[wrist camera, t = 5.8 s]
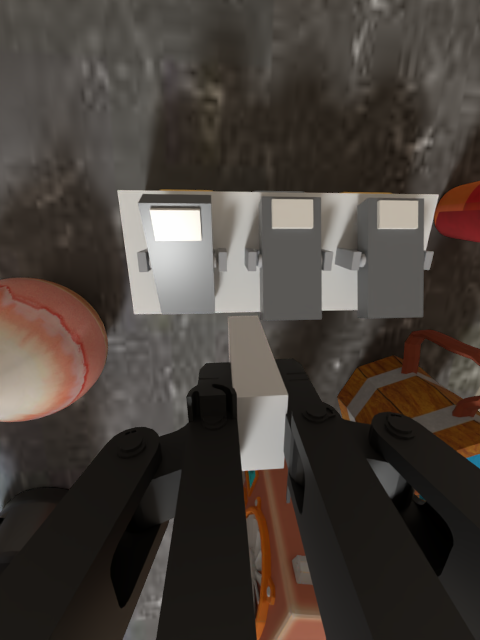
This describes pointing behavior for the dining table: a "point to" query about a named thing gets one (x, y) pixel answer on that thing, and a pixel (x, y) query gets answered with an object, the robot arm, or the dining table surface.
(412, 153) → the dining table surface
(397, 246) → the rocker
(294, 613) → the control panel
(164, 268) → the rocker
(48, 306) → the vase
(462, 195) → the paper cup
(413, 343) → the mug
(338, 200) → the console
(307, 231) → the rocker
